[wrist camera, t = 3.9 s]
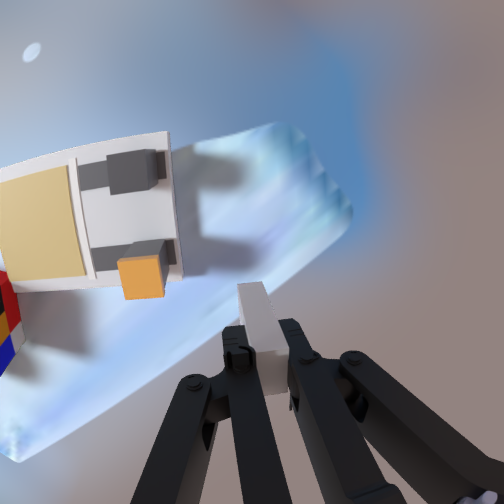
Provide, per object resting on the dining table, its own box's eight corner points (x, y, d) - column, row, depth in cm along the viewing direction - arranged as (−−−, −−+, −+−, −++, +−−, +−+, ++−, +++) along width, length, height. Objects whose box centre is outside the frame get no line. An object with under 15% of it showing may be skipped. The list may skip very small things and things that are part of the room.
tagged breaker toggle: (132, 240, 25) (116, 262, 20) (166, 237, 26) (157, 258, 21) (138, 273, 26) (125, 299, 22) (170, 270, 27) (164, 297, 22)
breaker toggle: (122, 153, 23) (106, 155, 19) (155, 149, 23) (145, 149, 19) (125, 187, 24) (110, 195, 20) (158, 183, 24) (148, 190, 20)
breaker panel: (-2, 170, 22) (-13, 173, 20) (169, 132, 25) (166, 130, 23) (22, 285, 27) (13, 293, 25) (183, 272, 30) (182, 281, 28)
